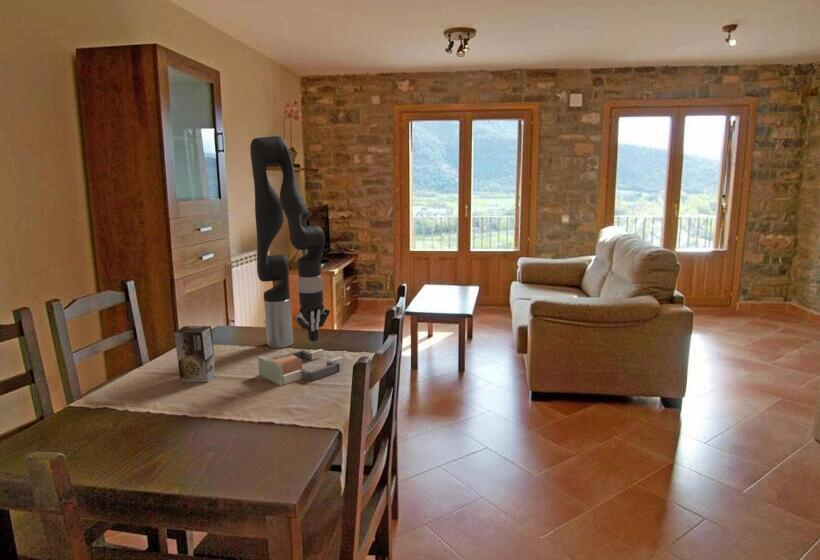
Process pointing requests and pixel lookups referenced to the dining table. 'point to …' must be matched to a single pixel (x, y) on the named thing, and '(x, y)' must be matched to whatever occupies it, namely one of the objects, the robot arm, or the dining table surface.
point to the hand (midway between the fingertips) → (313, 340)
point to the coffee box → (195, 353)
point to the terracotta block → (289, 363)
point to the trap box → (275, 370)
